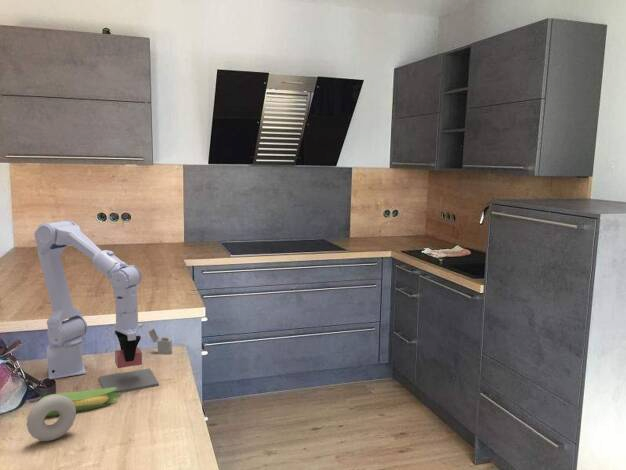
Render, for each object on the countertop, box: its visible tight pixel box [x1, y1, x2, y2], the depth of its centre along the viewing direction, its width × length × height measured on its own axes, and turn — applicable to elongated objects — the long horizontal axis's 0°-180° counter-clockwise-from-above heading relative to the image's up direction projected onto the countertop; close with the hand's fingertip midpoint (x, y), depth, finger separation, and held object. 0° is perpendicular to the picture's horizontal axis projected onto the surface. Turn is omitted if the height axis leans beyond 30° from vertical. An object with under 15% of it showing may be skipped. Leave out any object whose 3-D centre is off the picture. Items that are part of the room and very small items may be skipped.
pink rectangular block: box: [114, 346, 143, 369], centre depth 143 cm, size 4×6×4 cm
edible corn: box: [37, 387, 123, 418], centre depth 127 cm, size 5×20×5 cm
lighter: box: [148, 328, 173, 355], centre depth 166 cm, size 7×2×8 cm, turn 88°
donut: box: [26, 394, 77, 442], centre depth 113 cm, size 10×4×10 cm, turn 135°
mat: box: [98, 367, 160, 394], centre depth 144 cm, size 14×12×1 cm
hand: (128, 357), depth 143 cm, fingers closed on pink rectangular block, 4 cm apart
